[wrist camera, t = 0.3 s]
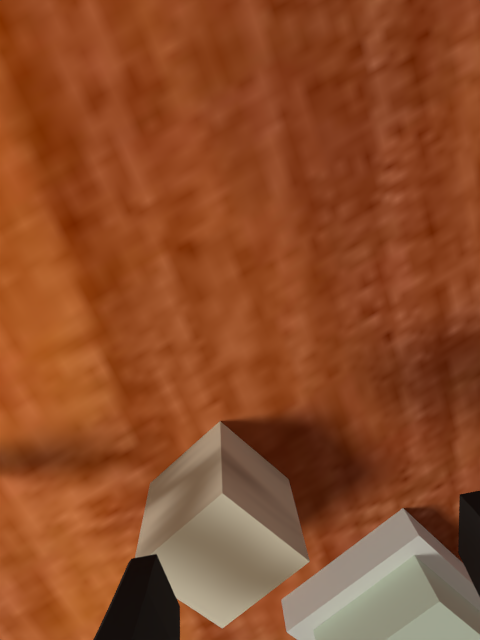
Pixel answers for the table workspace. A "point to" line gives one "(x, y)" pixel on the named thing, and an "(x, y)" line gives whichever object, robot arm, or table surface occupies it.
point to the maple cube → (222, 526)
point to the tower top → (405, 610)
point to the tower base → (371, 573)
